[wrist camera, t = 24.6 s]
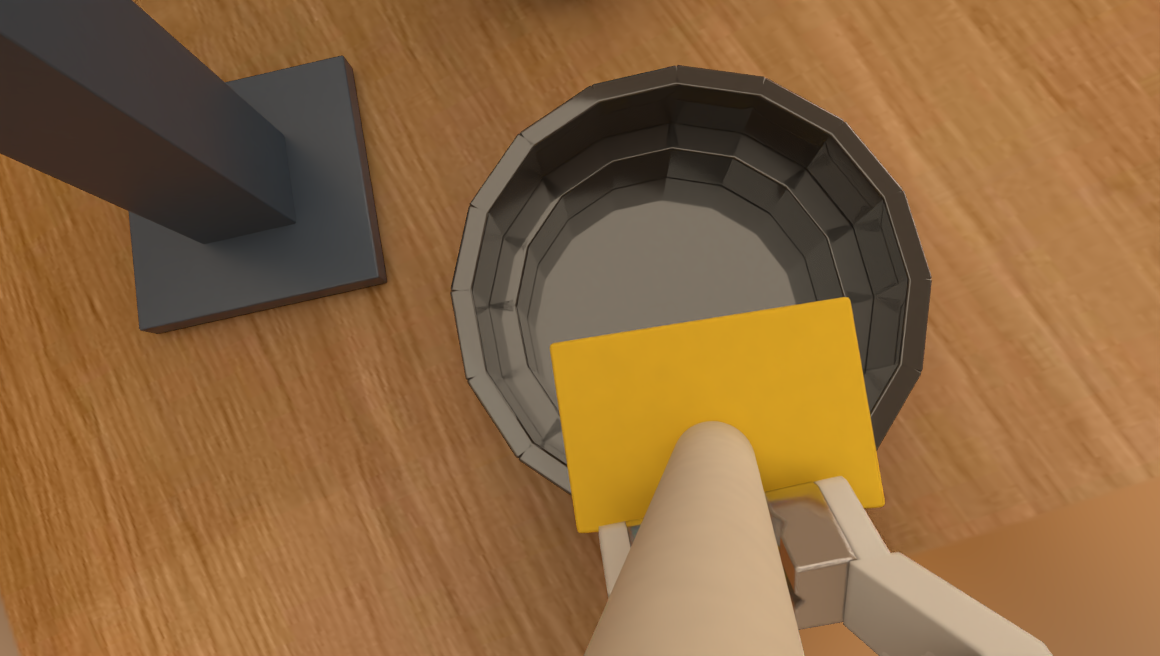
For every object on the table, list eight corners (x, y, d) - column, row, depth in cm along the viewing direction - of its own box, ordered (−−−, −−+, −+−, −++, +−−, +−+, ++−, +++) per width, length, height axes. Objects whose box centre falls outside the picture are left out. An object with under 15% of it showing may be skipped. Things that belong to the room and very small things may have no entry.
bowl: (900, 461, 24) (994, 471, 18) (529, 539, 24) (500, 575, 18) (799, 115, 26) (852, 23, 20) (463, 191, 27) (419, 122, 21)
